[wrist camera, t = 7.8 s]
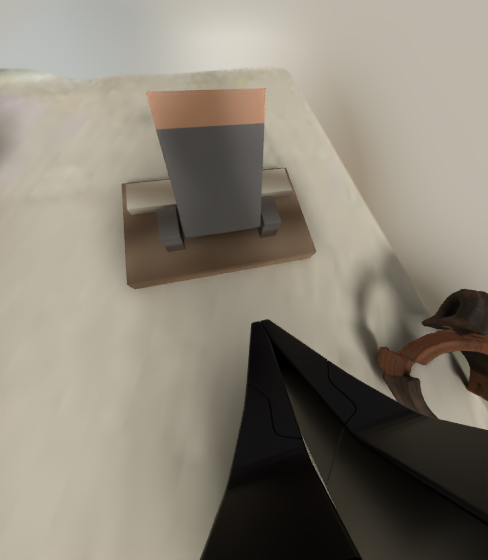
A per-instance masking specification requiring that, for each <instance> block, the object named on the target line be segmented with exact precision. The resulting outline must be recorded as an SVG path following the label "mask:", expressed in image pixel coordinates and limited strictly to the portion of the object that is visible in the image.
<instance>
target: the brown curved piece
mask: <svg viewBox="0 0 488 560" xmlns="http://www.w3.org/2000/svg"><path fill="white" fill-rule="evenodd" d="M422 324H423V325H424V326H428V327H433V328H436V329H443V330H442V331H438V332H435V333H431V334H427V335H425V336H423V337H421V338H419V339H417V340H414V341H412V342H410V343H409V344H407V345H406V346H405V347H404V348H402V349H401V350H400V351H399V353H398V354H397V353H395V352H392V351H390V350H389V349H388V348H387V347H381V348H380V350H379V353H378V357H377V362H378V364H379V367H380V368H381V369H382V370H384V372H383V378H384V380H385V381H386V384H387V385H388V387H389V389H390V390H391V392H392V394H393V395H394V397H395V398H396V400H397V401H398V403H400V404H402V405H404V406H406V407H407V408H409V409H411V410H414V411H416V412H418V413H421V414H423V415H426V416H429V417H432V418H436V419H438V418H437V417H436V416H435V415H434V414H433V413H432V411H431V410H430V409H429V407H428V406H427V404H426V402H425V400H424V398H423V395H422V393H421V388H420V380H419V379H418V378H414V377H411V376H410V375H409V374H410V372H411V367H412V366H413V364H414V363H415V362H417V363H420V364H422V365H427V364H428V363H429V362H430V361H432V360H433V359H434V358H436V357H437V356H439V355H441V354H444V353H448V352H453V351H461V352H462V354H463V355H464V356H465V358H466V359H467V361H468V363H469V366H470V378H469V383H468V386H467V390H468V391H470V392H472V393H474V394H476V395H478V396H481V397H482V398H483V399H485V400H486V401H488V293H486V292H483V291H475V290H468V289H461V290H460V291H457V292H455V293H453V294H451V295H450V296H449V297H447V299H446V300H445V301H444V302H443V304H442V305H441V306H440V308H439V310H438V311H437V313H436V314H435V315H434V316H432V317H431V318H429V319H426V320H424V321H423V322H422Z"/></svg>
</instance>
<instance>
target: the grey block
mask: <svg viewBox="0 0 488 560" xmlns="http://www.w3.org/2000/svg"><path fill="white" fill-rule="evenodd" d="M265 89H266V88H262V89H229V90H195V91H162V92H146V94H147V98H148V102H149V105H150V109H151V112H152V116H153V120H154V123H155V127H156V131H157V134H158V138H159V142H160V145H161V149H162V152H163V156H164V160H165V163H166V167H167V171H168V174H169V178H170V182H171V185H172V189H173V192H174V196H175V200H176V203H177V207H178V211H179V214H180V220H181V225H182V229H183V233H184V236H185V239H188V238H195V237H202V236H208V235H215V234H222V233H229V232H236V231H242V230H249V229H256V228H258V227H260V222H261V195H262V169H263V142H264V115H265Z"/></svg>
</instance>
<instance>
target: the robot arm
mask: <svg viewBox="0 0 488 560" xmlns="http://www.w3.org/2000/svg"><path fill="white" fill-rule="evenodd" d="M300 431H301V432H300ZM301 433H302V435H301ZM302 436H303V438H304V440H305V442H306V444H307V446H308V449H309V451H310V453H311V455H312V457H313V459H314V462H315V464H316V466H317V468H318V470H319V472H320V475H321V477H322V479H323V481H324V483H325V485H326V488H327V490H328V492H329V494H330V496H331V499H332V501H333V502H332V501H331V499H330V497H329V495H328V493H327V491H326V489H325V487H324V485H323V483H322V482H321V480H320V478H319V476H318V474H317V472H316V470H315V468H314V466H313V464H312V462H311V460H310V457H309V455H308V452H307V450H306V447H305V444H304V441H303V438H302ZM333 503H334V504H333ZM334 505H335V506H334ZM335 507H336V508H335ZM336 509H337V510H336ZM200 560H488V430H485V429H480V428H476V427H471V426H467V425H462V424H458V423H454V422H449V421H445V420H440V419H436V418H432V417H429V416H426V415H423V414H421V413H418V412H416V411H414V410H411V409H409V408H407V407H406V406H404V405H402V404H400V403H398V402H397V401H395V400H393V399H391V398H390V397H388V396H386V395H384V394H383V393H381V392H379V391H377V390H376V389H374V388H372V387H370V386H368V385H367V384H365V383H363V382H362V381H360V380H358V379H357V378H355V377H353V376H352V375H350V374H348V373H347V372H345V371H344V370H342V369H341V368H339V367H338V366H336V365H335V364H333V363H332V362H330V361H327V359H326V358H324V357H323V356H321V355H320V354H318V353H317V352H315V351H314V350H313V349H311V348H310V347H308V346H307V345H305V344H304V343H302V342H301V341H299V340H298V339H296V338H295V337H294V336H292V335H291V334H289V333H288V332H286V331H285V330H283V329H282V328H280V327H279V326H277V325H276V324H274V323H273V322H272V321H270V320H268V319H266V320H262V321H260V322H259V321H257V322H253V323H252V324H251V334H250V346H249V359H248V371H247V384H246V394H245V402H244V409H243V415H242V420H241V425H240V430H239V434H238V439H237V443H236V448H235V453H234V457H233V462H232V466H231V470H230V474H229V478H228V482H227V486H226V489H225V492H224V495H223V498H222V501H221V503H220V506H219V509H218V512H217V514H216V517H215V520H214V523H213V525H212V528H211V531H210V533H209V536H208V539H207V542H206V544H205V547H204V550H203V552H202V555H201V558H200Z"/></svg>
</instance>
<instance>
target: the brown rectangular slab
mask: <svg viewBox="0 0 488 560" xmlns="http://www.w3.org/2000/svg"><path fill="white" fill-rule="evenodd" d="M122 196H123V215H124V234H125V253H126V272H127V285H129V286H130V287H132V288H134V289H138V288H144V287H150V286H155V285H161V284H166V283H172V282H177V281H183V280H189V279H194V278H200V277H205V276H211V275H216V274H222V273H227V272H233V271H239V270H244V269H250V268H255V267H261V266H266V265H272V264H278V263H283V262H289V261H294V260H300V259H305V258H310V257H311V256H312V255H313V254H314V253H315V252H316V250H315V247H314V244H313V241H312V239H311V236H310V233H309V230H308V227H307V225H306V222H305V219H304V216H303V214H302V211H301V208H300V205H299V203H298V200H297V197H296V194H295V192H294V189H293V186H292V183H291V181H290V178H289V175H288V172H287V169H286V168H278V169H268V170H262V195H261V222H260V227H258V228H256V229H249V230H242V231H236V232H229V233H222V234H215V235H208V236H202V237H195V238H188V239H185V236H184V233H183V229H182V225H181V220H180V214H179V211H178V207H177V203H176V200H175V196H174V192H173V189H172V185H171V182H170V179H166V180H156V181H146V182H136V183H126V184H122Z"/></svg>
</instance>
